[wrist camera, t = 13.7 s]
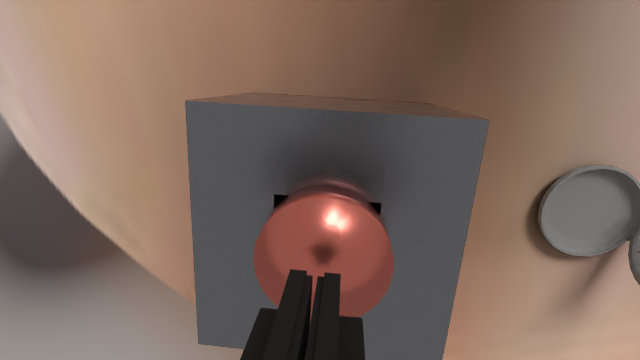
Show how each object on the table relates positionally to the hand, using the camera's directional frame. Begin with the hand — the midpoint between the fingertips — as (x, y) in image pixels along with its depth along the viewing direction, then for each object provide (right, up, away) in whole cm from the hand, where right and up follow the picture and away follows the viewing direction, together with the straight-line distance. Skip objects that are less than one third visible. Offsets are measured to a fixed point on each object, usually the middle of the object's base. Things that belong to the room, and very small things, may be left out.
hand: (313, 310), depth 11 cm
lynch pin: (+1, +4, +14) cm, 14 cm away
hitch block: (+1, +4, +14) cm, 15 cm away
